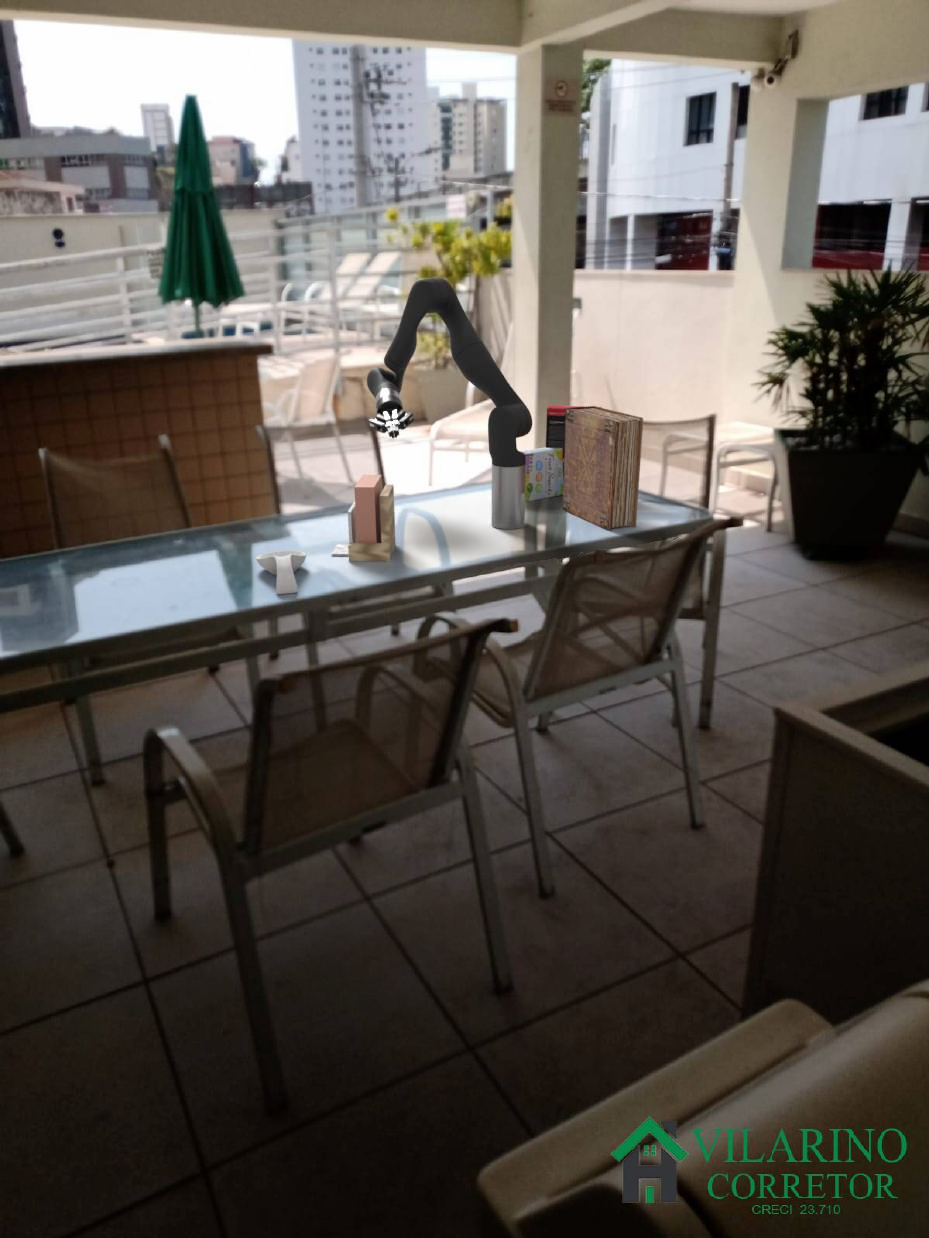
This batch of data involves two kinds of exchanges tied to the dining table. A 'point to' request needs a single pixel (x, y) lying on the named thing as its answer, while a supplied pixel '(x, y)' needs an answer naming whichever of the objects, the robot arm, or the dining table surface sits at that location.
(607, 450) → the book
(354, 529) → the bookend
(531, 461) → the snack box
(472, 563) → the dining table surface
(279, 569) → the spoon rest
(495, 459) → the robot arm
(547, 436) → the graphics card box
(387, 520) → the board
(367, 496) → the book
